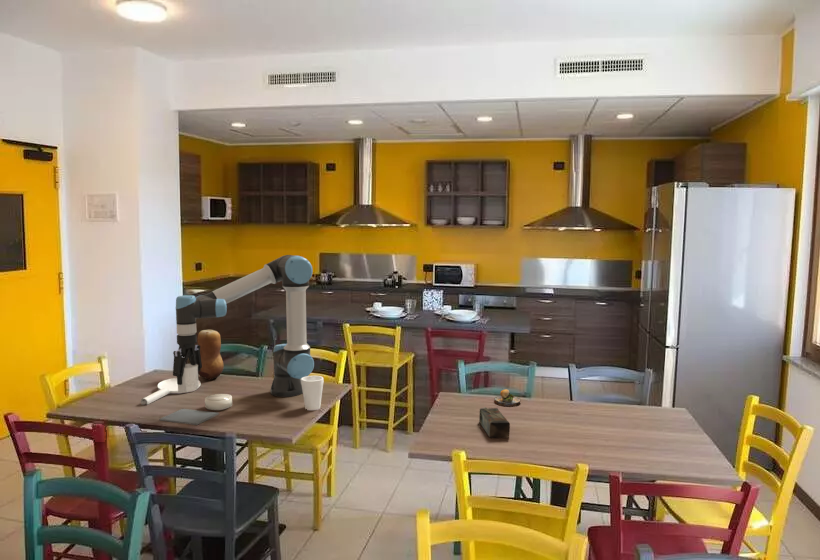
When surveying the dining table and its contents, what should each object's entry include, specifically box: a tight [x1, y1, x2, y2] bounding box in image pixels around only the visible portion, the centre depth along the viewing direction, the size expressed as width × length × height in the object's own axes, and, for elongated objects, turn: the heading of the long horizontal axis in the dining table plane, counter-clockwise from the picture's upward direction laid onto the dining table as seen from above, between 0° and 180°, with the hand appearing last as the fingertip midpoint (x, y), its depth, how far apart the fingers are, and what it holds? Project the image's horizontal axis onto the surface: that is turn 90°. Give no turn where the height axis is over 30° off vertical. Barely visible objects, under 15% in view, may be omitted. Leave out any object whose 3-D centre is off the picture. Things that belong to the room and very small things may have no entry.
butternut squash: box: [197, 329, 225, 381], centre depth 302 cm, size 14×13×25 cm
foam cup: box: [301, 375, 325, 411], centre depth 254 cm, size 10×9×13 cm
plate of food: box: [493, 389, 521, 407], centre depth 263 cm, size 12×12×8 cm
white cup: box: [183, 363, 199, 393], centre depth 241 cm, size 8×8×10 cm
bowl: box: [204, 393, 233, 411], centre depth 254 cm, size 11×11×5 cm
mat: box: [159, 408, 220, 426], centre depth 242 cm, size 18×14×1 cm
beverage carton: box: [478, 407, 511, 439], centre depth 228 cm, size 8×19×6 cm, turn 6°
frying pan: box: [140, 377, 201, 406], centre depth 275 cm, size 35×19×5 cm, turn 167°
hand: (188, 389), depth 241 cm, fingers closed on white cup, 8 cm apart
